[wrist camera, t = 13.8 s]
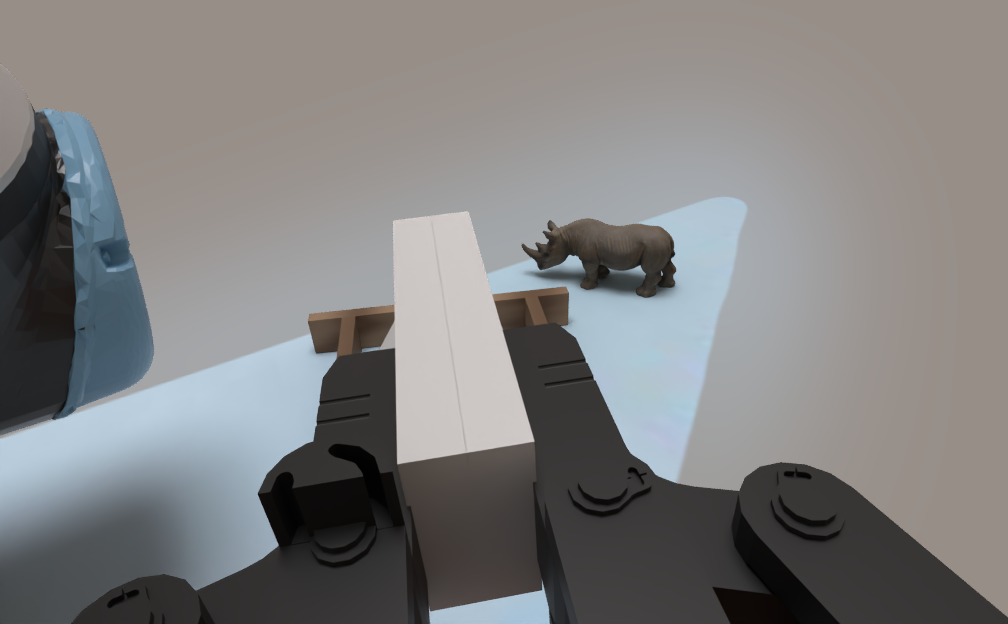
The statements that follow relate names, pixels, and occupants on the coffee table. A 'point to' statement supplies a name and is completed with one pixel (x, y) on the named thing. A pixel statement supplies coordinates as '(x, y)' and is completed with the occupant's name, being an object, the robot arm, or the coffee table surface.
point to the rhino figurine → (610, 251)
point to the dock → (373, 324)
